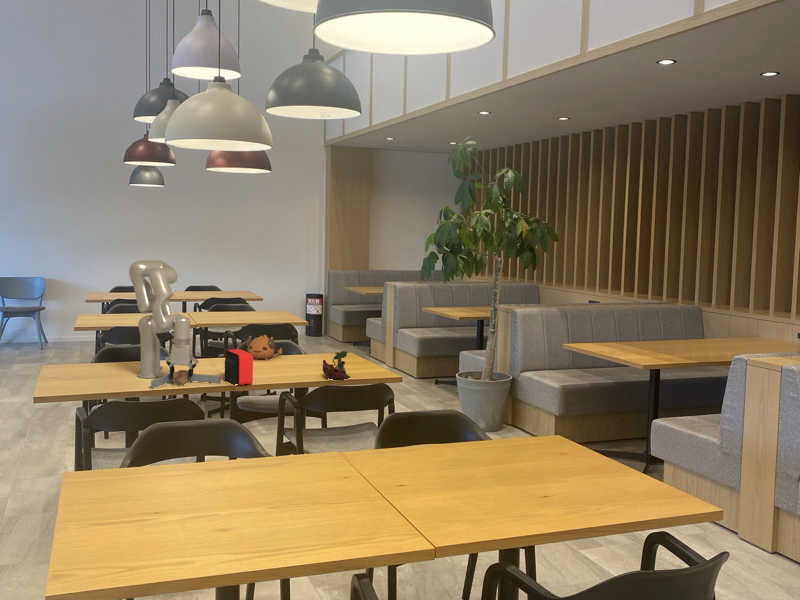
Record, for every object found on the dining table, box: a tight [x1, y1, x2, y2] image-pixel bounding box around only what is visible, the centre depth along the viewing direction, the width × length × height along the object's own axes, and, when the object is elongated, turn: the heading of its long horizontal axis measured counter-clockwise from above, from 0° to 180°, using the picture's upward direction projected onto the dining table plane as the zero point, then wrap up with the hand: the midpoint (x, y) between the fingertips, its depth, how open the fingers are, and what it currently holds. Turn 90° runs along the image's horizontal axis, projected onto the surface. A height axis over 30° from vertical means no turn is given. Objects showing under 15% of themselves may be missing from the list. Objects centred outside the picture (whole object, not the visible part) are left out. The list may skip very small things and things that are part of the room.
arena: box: [150, 372, 222, 388], centre depth 375 cm, size 22×26×4 cm
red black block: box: [224, 348, 254, 386], centre depth 386 cm, size 10×20×16 cm, turn 33°
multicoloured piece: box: [321, 350, 351, 380], centre depth 402 cm, size 14×15×15 cm
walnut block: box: [173, 369, 190, 385], centre depth 379 cm, size 5×8×6 cm, turn 170°
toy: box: [245, 334, 283, 361], centre depth 455 cm, size 19×17×15 cm
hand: (181, 375), depth 379 cm, fingers open, 9 cm apart
